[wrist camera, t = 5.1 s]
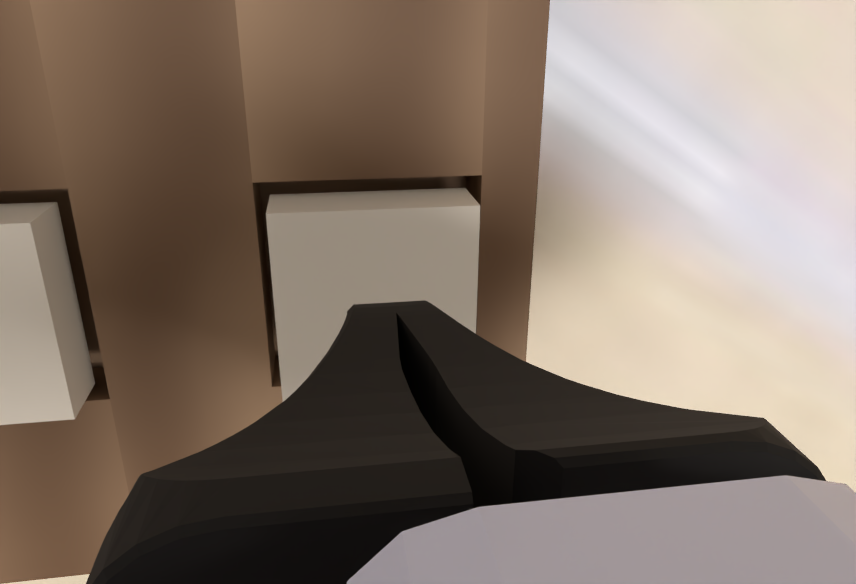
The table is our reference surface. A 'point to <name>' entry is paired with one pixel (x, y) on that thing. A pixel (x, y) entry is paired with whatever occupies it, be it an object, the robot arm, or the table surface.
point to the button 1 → (39, 320)
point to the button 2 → (365, 262)
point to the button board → (233, 204)
